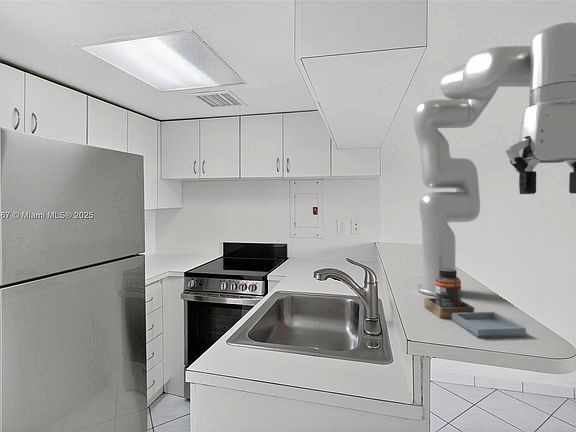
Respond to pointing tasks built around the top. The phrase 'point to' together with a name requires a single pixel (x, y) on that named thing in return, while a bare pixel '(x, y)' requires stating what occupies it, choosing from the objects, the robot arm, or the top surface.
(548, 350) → the top surface
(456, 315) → the tray
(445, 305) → the supplement bottle
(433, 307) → the holder
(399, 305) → the top surface
